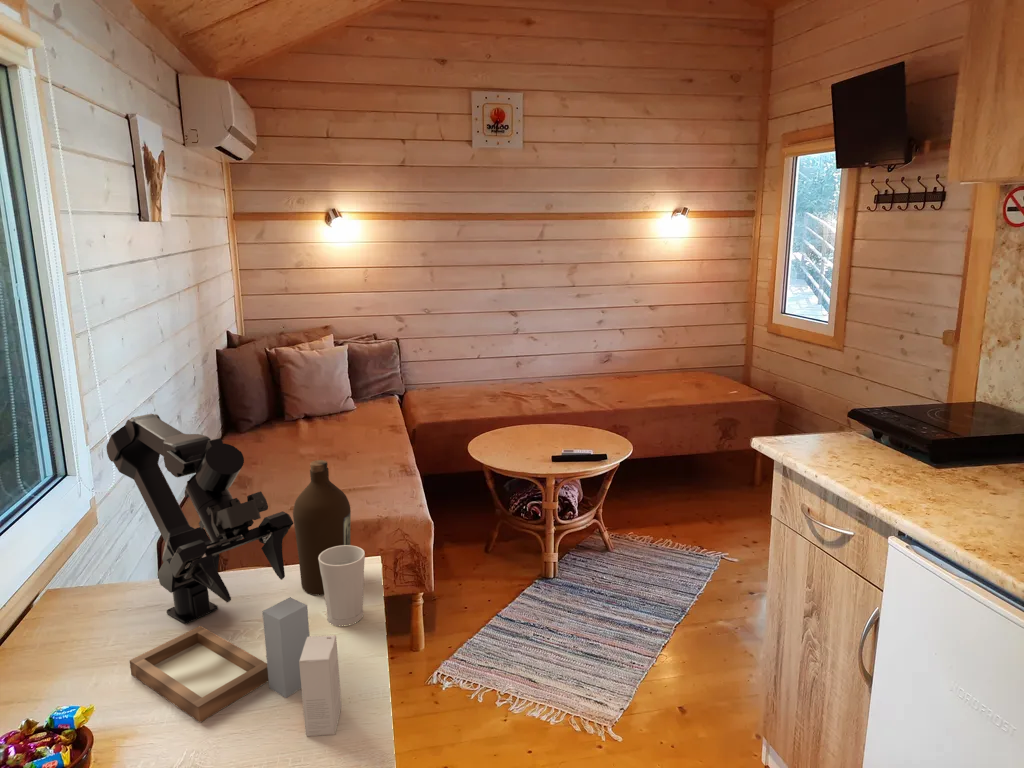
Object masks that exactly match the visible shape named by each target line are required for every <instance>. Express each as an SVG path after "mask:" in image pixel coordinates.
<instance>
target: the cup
mask: <svg viewBox="0 0 1024 768" xmlns="http://www.w3.org/2000/svg"><path fill="white" fill-rule="evenodd" d="M365 553H366V552H365V550H364V549H363V548H361V547H360V546H356V545H352V544H351V545H341V546H335V547H332V548H329V549H326V550H324V551H323V552H322V553H321V554H320V555H319V557H318V560H319V566H320V572H321V576H322V581H323V588H324V595H323V596H324V601H325V606H326V618H327V619H326V621H327V622H328V623H329V624H330V623H331V624H330V625H332V624H333V625H332V626H334V625H336V626H335V627H345V626H344V625H349V624H352V625H354V624H353V623H355V622H357V621H359V620H360V619H361V618H362V617H364V590H365V588H364V586H365V585H364V584H365V583H364V582H365V562H366V561H365V559H366V558H365V557H366V554H365ZM362 619H363V618H362ZM362 619H361V620H362ZM361 620H360V621H361ZM360 621H359V622H360ZM357 623H358V622H357ZM355 624H356V623H355ZM339 625H340V626H339ZM342 625H343V626H342ZM349 626H350V625H349Z"/></svg>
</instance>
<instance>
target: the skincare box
mask: <svg viewBox="0 0 1024 768" xmlns="http://www.w3.org/2000/svg"><path fill="white" fill-rule="evenodd" d="M338 655H339V654H338V640H337V635H336V634H334V635H333V634H332V635H331V634H330V635H311V636H310V635H309V637H307V639H306V642H305V645H304V648H303V651H302V655H301V658H300V661H299V665H300V677H301V689H300V690H301V699H302V711H303V721H304V722H303V723H304V730H305V731H304V733H305V734H304V735H305V736H306V737H315V736H317V737H320V736H331V735H332V736H333V735H336V732H337V728H338V723H339V719H340V714H341V710H342V696H341V684H340V683H341V682H340V672H339V671H340V670H339V669H340V668H339V656H338Z"/></svg>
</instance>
